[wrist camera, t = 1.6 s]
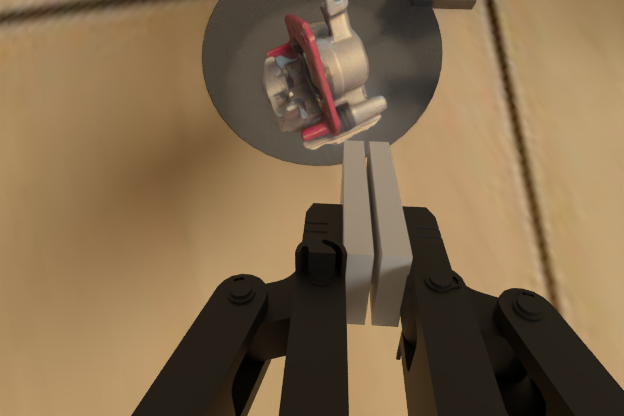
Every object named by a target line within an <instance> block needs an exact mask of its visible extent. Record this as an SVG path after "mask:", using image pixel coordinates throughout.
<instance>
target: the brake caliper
mask: <svg viewBox="0 0 624 416" xmlns="http://www.w3.org/2000/svg"><path fill="white" fill-rule="evenodd" d="M347 6H348V0H326V2H324V3H321V5H320V9H321V11H322V13H323V16H324V19H325V22H326V23H325V24H322V25H320V26H316V27H310V25H309V24H308V23H307V22H306V21H304V20H303V19H302V18H298V17H297V16H295V15H293V14H291V13H288V14H286V15H285V24H286V26H287V30H288V33H289V37H290V40H289V42H288V43H285V44H283V45H281V46H278V47H275V48H273V49H271V50H269V51H267V52H266V58H267V59H266V60H265V62H264V68H263V75H262V78H261V83H262V88H263V91H264V93H265V96H266V98H267V100H268V101H269V103H270V105H271V107H272V109H273V112H274V116H275V119H276V121H277V124H278V126H279V129H280V130H281V131H282V132H284V131H287V132H301V137H302V139H303V140H304V141H303V145H304V147H305V148H308V149H311V150H317V149H318V148H319V147H320V146H322V145H324V144H331V145H337V144H340V143H342V142H344V140H347V139H349V138H351V137H352V136H353V135H355V134H357V133H359V132H361V131H365V130H367V129H369V128H370V127H372V126H373V125H375V124H376V123H377V121H378V120H380V118H381V115H380V113H381V112H382V111H384V110H385V109H386V108H387V102H386V100H385V98H384V97H383V96H375V97H367V95H366V90H365V82H366V81H367V79H368V76H369V63H368V58H367V54H366V51H365V48H364V46H363V43H362V41H361V39H360V37H359V36H358V35H357V34H356V33H355V32H354V31H353V29H352V28H351V25H350V21H349V16H348V13H347Z"/></svg>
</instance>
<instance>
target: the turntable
mask: <svg viewBox="0 0 624 416" xmlns="http://www.w3.org/2000/svg"><path fill="white" fill-rule="evenodd" d="M324 2H326V0H219V2H218V3H217V5H216V6H215V8H214V11H213V13H212V15H211V17H210V19H209V22H208V25H207V28H206V31H205V37H204V42H203V54H202V63H203V72H204V78H205V82H206V86H207V89H208V92H209V94H210V97H211V99H212V101H213V103H214V105H215V107H216V108H217V110H218V112H219V114H220V115H221V117H222V118H223V119H224V120H225V122H226V123H227V124H228V125H229V127H230V128H231V129H232V130H233V131H234V132H235V133H236V134H237V135H238V136H239V137H241V138H242V139H243V140H245V141H246V142H247V143H249V144H250V145H251V146H253V147H254V148H256V149H258V150H260V151H262V152H264V153H265V154H267V155H270V156H272V157H275V158H278V159H280V160H283V161H287V162H292V163H296V164H302V165H312V166H330V165H337V164H343V150H344V142H342V143H340V144H337V145H331V144H324V145H322V146H320V147H319V148H318V149H317V150H311V149H308V148H305V147H304V145H303V141H304V140H303V139H302V137H301V132H287V131H284V132H282V131H281V130H280V129H279V126H278V124H277V121H276V119H275V116H274V112H273V109H272V107H271V105H270V103H269V101H268V100H267V98H266V96H265V93H264V91H263V88H262V83H261V78H262V75H263V68H264V62H265V60H266V59H267V58H266V52H267V51H269V50H271V49H273V48H275V47H278V46H281V45H283V44H285V43H288V42H289V40H290V37H289V33H288V30H287V26H286V24H285V15H286V14H288V13H291V14H293V15H295V16H297V17H298V18H302V19H303V20H304V21H306V22H307V23H308V24H309V25H310V27H316V26H320V25H322V24H325V23H326V22H325V19H324V16H323V13H322V11H321V9H320V5H321V3H324ZM347 13H348V16H349V21H350V25H351V28H352V29H353V31H354V32H355V33H356V34H357V35H358V36H359V37H360V39H361V41H362V43H363V46H364V48H365V51H366V54H367V58H368V63H369V76H368V79H367V81H366V82H365V90H366V95H367V97H375V96H383V97H384V98H385V100H386V102H387V108H386V109H385V110H384V111H382V112H381V113H380V115H381V118H380V120H378V121H377V123H376V124H375V125H373V126H372V127H370V128H369V129H367V130H365V131H361V132H359V133H357V134H355V135H353V136H352V137H351V138H349V139H347V140H350V141H364V150H365V158H366V157H368V148H369V141H375V142H389V145H391V144H393V143H394V142H395V141H397V140H398V139H399V138H400V137H402V136H403V135H404V134H405V133H406V132H407V131H408V130H409V129H410V128H411V127H412V126H413V125H414V124H415V123H416V122H417V120H418V119H419V118H420V116H421V115H422V114H423V112H424V111H425V109H426V108H427V106H428V104H429V102H430V100H431V99H432V97H433V94H434V92H435V89H436V86H437V84H438V80H439V76H440V71H441V65H442V41H441V34H440V30H439V25H438V22H437V19H436V17H435V14H434V11H433V9H432V7H413V6H412V0H348V6H347Z"/></svg>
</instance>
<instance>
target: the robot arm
mask: <svg viewBox="0 0 624 416" xmlns="http://www.w3.org/2000/svg"><path fill="white" fill-rule="evenodd" d="M438 228H439V227H438V224H437V221H436V218H435V216H434V215H433V214H432V213H431V212H430V211H429V210H428V209H427V208H426V207H405V206H402V203H401V198H400V193H399V188H398V183H397V179H396V174H395V169H394V164H393V159H392V155H391V150H390V145H389V142H375V141H369V148H368V158H367V167H366V161H365V150H364V141H350V140H344V150H343V165H342V181H341V196H340V204H320V203H313V204H312V206H311V207H310V208H309V209H308V210H307V212H306V217H305V225H304V232H303V240H302V242H301V243H300V244H299V245H298V246H297V249H296V251H295V268H296V271H295V272H294V273H293V274H292V275H291V276H289V277H287V278H285V279H284V280H280V281H277V282H272V283H267V284H265V283H264V282H263V281H262V280H261V279H260V278H258V277H256V276H254V275H249V274H240V275H235V276H231V277H229V278H228V279H226V280H224V281H223V282H222V283H221V284H220V285H219V286H218V287H217V288H216V290H215V291H214V293H213V294H212V296H211V297H210V299H209V300H208V302H207V303H206V305H205V306H204V308H203V309H202V311H201V312H200V314H199V315H198V317H197V318H196V320H195V321H194V323H193V324H192V326H191V327H190V329H189V330H188V332H187V333H186V335H185V336H184V338H183V339H182V341H181V342H180V344H179V345H178V347H177V348H176V350H175V351H174V353H173V354H172V356H171V357H170V358H169V360H168V361H167V363H166V364H165V366H164V367H163V369H162V370H161V372H160V373H159V375H158V376H157V378H156V379H155V381H154V382H153V384H152V385H151V387H150V388H149V390H148V391H147V393H146V394H145V396H144V397H143V399H142V400H141V402H140V403H139V405H138V406H137V408H136V409H135V411H134V412H133V414H132V415H131V416H247V415H248V413H249V410H250V408H251V406H252V403H253V401H254V399H255V396H256V394H257V392H258V389H259V387H260V385H261V383H262V380H263V378H264V376H265V373H266V371H267V369H268V366H269V364H270V362H271V359H274V358H278V357H282V356H286V360H285V368H284V376H283V385H282V393H281V402H280V410H279V416H349V403H348V361H347V324H360V325H365V318H366V310H367V303H368V296H369V292H370V306H371V320H372V325H377V326H393V327H398V324H399V320H400V317H401V324H402V332H401V337H400V341H399V346H398V350H397V356H396V359H397V360H400V358H401V357H402V366H403V375H404V383H405V392H406V400H407V409H408V416H624V390H623V389H622V388H621V387H620V385H619V384H618V383H617V382H616V381H615V380H614V378H613V377H612V376H611V375H610V374H609V372H608V371H607V370H606V369H605V368H604V366H603V365H602V364H601V363H600V362H599V360H598V359H597V358H596V357H595V356H594V354H593V353H592V352H591V351H590V350H589V349H588V347H587V346H586V345H585V344H584V343H583V341H582V340H581V339H580V338H579V337H578V335H577V334H576V333H575V332H574V331H573V329H572V328H571V327H570V326H569V325H568V323H567V322H566V321H565V320H564V319H563V317H562V316H561V315H560V314H559V313H558V312H557V310H556V309H555V308H554V307H553V306H552V305H551V304H550V303H549V302H548V301H547V300H546V299H545V298H544V297H542V296H540V295H538V294H536V293H535V292H532V291H529V290H525V289H519V288H511V289H508V290H505V291H504V292H503V293H502V294H501V295H500V296H499V298H498V297H494V296H491V295H488V294H484V293H481V292H478V291H475V290H473V289H471V288H469V287H467V286H466V284H465V283H464V281H463V279H462V277H461V276H459V275H458V274H457V273H456V272H455V271H453V270H452V269H451V266H450V262H449V259H448V256H447V253H446V250H445V247H444V243H443V240H442V238H441V234H440V231H439V230H438Z"/></svg>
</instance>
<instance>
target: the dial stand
mask: <svg viewBox="0 0 624 416" xmlns="http://www.w3.org/2000/svg"><path fill="white" fill-rule="evenodd" d="M475 3H476V0H412V6H413V7H432V8H441V9H472V8H473V6H474V5H475Z"/></svg>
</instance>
